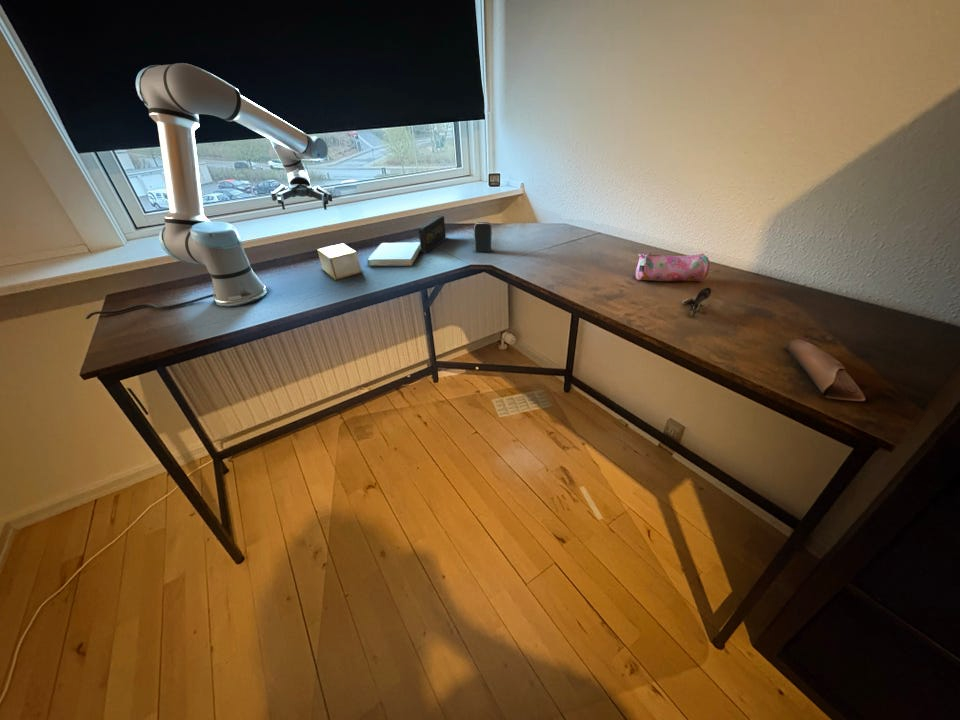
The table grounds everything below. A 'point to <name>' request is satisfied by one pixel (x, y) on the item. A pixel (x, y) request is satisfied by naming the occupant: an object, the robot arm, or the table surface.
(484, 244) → the battery charger
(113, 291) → the table surface
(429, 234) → the nameplate
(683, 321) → the table surface
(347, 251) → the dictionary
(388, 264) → the block
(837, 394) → the sunglasses case
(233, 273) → the robot arm
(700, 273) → the pencil case
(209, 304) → the table surface
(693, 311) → the eagle figurine
